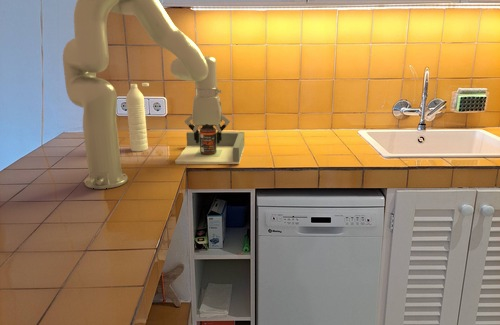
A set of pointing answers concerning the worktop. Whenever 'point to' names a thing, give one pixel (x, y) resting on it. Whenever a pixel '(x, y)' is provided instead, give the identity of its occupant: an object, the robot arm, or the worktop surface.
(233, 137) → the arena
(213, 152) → the supplement bottle
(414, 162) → the worktop surface
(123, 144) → the worktop surface
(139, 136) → the water bottle
